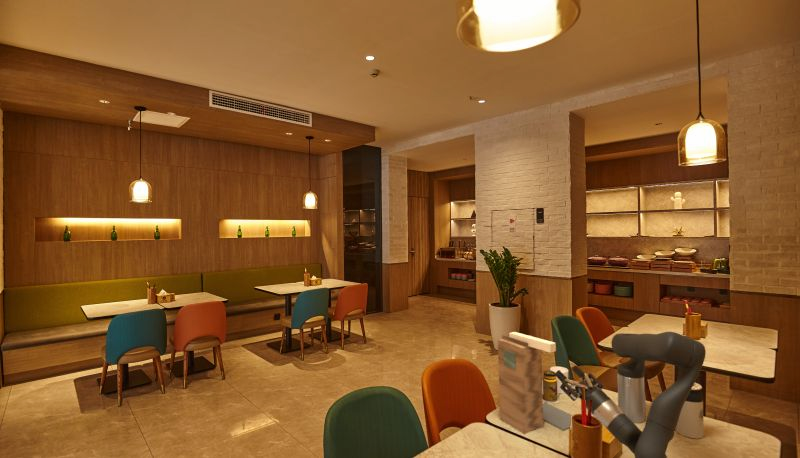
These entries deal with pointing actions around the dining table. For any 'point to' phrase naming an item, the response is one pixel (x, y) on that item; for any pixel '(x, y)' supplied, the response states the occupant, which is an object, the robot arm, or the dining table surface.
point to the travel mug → (692, 414)
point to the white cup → (559, 383)
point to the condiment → (550, 387)
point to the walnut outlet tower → (520, 384)
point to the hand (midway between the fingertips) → (565, 369)
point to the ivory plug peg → (535, 342)
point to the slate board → (556, 417)
